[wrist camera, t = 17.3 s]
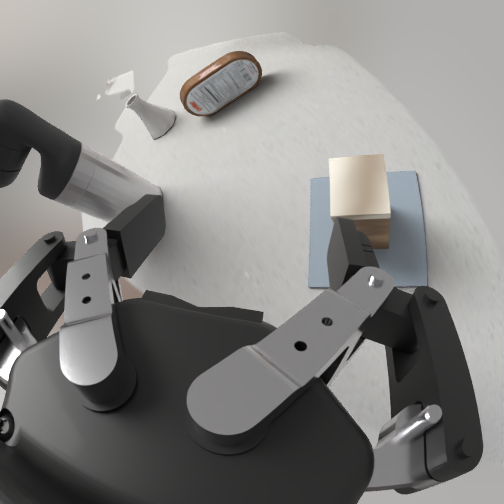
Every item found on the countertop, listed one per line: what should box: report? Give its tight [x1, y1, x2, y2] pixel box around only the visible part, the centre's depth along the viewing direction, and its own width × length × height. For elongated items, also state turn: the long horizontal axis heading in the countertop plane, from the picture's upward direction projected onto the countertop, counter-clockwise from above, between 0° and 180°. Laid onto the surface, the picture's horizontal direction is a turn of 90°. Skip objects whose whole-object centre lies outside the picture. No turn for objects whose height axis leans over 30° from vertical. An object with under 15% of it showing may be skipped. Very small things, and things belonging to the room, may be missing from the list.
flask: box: [126, 94, 176, 139], centre depth 46 cm, size 7×7×10 cm
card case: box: [329, 154, 391, 249], centre depth 23 cm, size 4×5×10 cm
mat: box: [308, 171, 427, 287], centre depth 28 cm, size 13×13×1 cm
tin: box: [180, 51, 262, 116], centre depth 39 cm, size 15×3×8 cm, turn 111°
